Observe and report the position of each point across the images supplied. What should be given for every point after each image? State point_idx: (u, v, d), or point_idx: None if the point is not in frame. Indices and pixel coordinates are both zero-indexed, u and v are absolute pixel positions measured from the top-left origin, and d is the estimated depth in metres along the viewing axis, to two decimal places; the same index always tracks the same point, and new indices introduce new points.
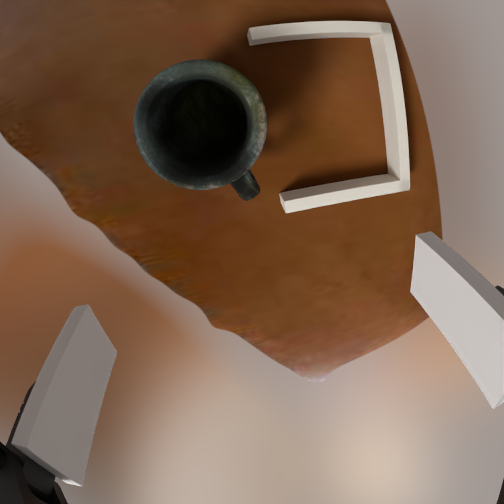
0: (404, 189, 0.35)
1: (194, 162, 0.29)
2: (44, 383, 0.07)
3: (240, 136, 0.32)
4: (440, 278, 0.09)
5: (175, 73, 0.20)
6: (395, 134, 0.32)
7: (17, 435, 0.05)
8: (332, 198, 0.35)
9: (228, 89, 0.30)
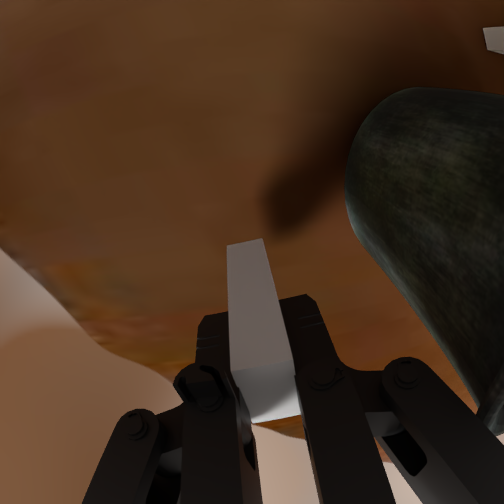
0: None
1: None
2: (244, 305, 0.09)
3: None
4: None
5: None
6: None
7: (237, 359, 0.07)
8: None
9: None
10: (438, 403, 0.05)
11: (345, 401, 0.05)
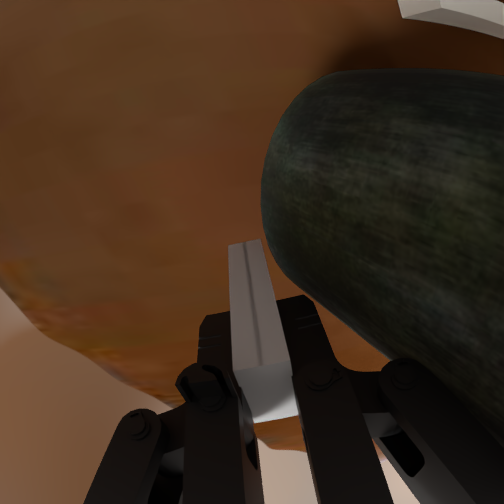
0: None
1: None
2: (246, 304, 0.09)
3: None
4: None
5: None
6: None
7: (239, 359, 0.07)
8: None
9: None
10: (436, 404, 0.05)
11: (343, 402, 0.05)
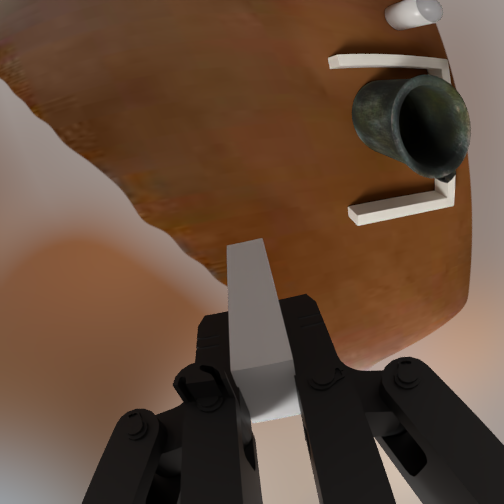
0: (449, 205, 0.38)
1: None
2: (244, 305, 0.09)
3: (414, 131, 0.34)
4: None
5: (416, 84, 0.22)
6: None
7: (237, 359, 0.07)
8: (395, 213, 0.38)
9: None
10: (438, 403, 0.05)
11: (345, 401, 0.05)
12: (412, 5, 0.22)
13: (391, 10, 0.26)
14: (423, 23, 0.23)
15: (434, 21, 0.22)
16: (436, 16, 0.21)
